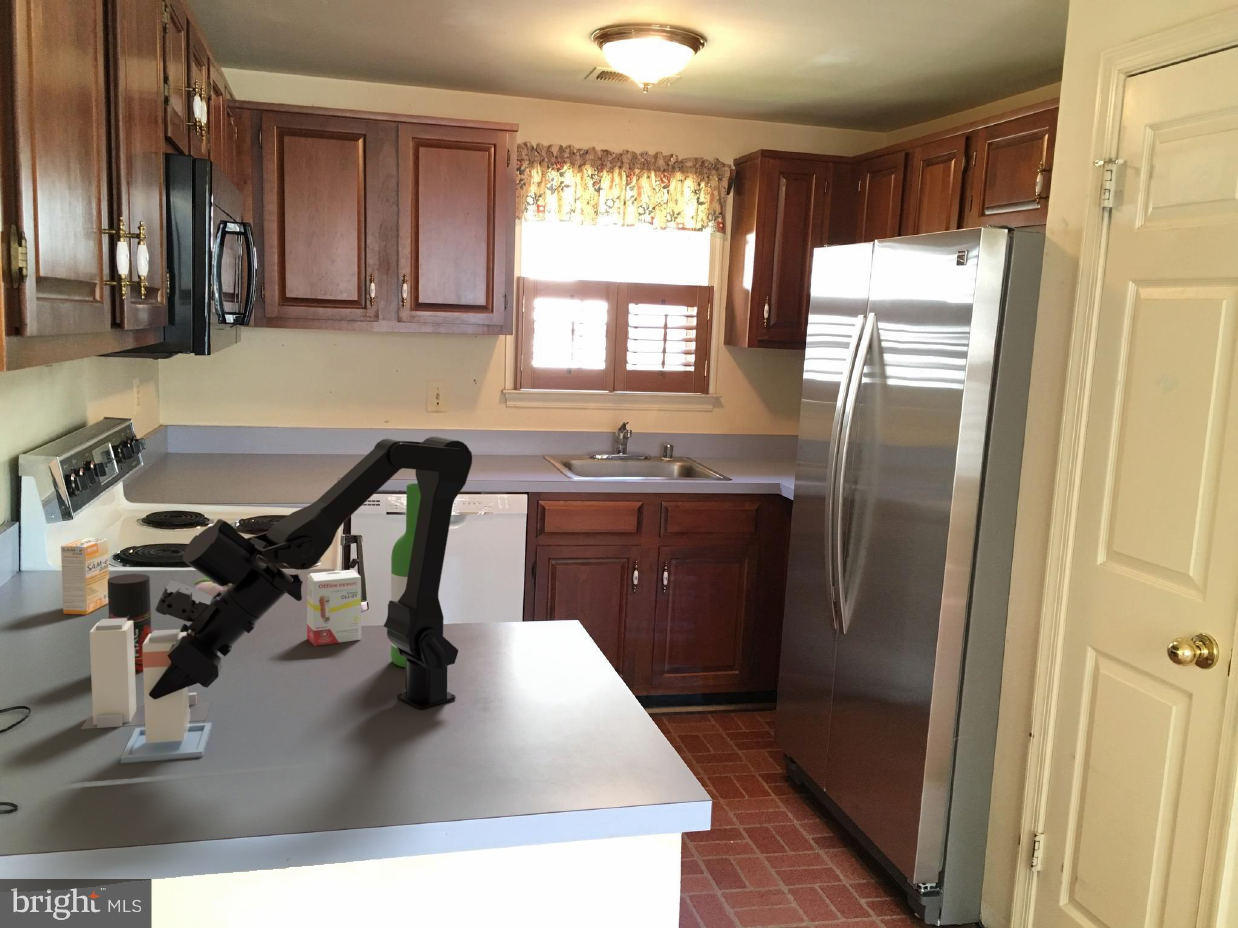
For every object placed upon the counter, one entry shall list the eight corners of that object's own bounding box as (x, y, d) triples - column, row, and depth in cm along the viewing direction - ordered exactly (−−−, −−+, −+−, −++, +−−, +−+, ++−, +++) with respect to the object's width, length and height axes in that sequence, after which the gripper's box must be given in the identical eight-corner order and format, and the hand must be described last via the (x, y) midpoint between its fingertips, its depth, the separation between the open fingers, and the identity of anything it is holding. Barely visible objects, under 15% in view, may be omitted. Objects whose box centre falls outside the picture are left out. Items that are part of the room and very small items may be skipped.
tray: (211, 730, 133) (211, 722, 133) (202, 760, 124) (202, 751, 124) (136, 736, 130) (135, 727, 130) (120, 766, 121) (120, 757, 121)
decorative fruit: (253, 621, 182) (253, 568, 180) (232, 634, 174) (231, 579, 172) (205, 618, 183) (204, 566, 181) (182, 631, 175) (180, 576, 173)
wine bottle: (427, 671, 158) (428, 489, 154) (382, 667, 160) (382, 486, 156) (445, 656, 166) (447, 482, 162) (402, 652, 167) (403, 479, 163)
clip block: (211, 704, 142) (211, 691, 141) (205, 723, 135) (204, 709, 135) (93, 712, 138) (93, 698, 137) (80, 732, 131) (80, 718, 130)
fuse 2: (189, 726, 130) (187, 627, 128) (184, 740, 125) (181, 638, 123) (152, 728, 128) (148, 629, 126) (145, 743, 124) (141, 640, 122)
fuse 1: (136, 709, 138) (133, 616, 136) (129, 721, 133) (126, 625, 132) (101, 711, 137) (97, 617, 135) (93, 724, 132) (89, 627, 130)
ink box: (313, 646, 169) (312, 580, 167) (306, 638, 173) (305, 573, 171) (362, 640, 173) (362, 575, 171) (354, 632, 177) (354, 569, 176)
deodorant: (142, 661, 158) (139, 571, 156) (159, 670, 155) (156, 578, 153) (104, 670, 154) (100, 578, 152) (121, 680, 150) (117, 585, 148)
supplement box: (87, 615, 182) (85, 546, 180) (62, 614, 182) (59, 545, 180) (111, 603, 190) (109, 537, 188) (87, 602, 190) (84, 536, 188)
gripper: (205, 545, 134) (120, 627, 132) (185, 580, 116) (85, 675, 114) (267, 598, 137) (185, 679, 135) (256, 640, 119) (161, 733, 117)
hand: (155, 689), depth 125 cm, fingers open, 5 cm apart
